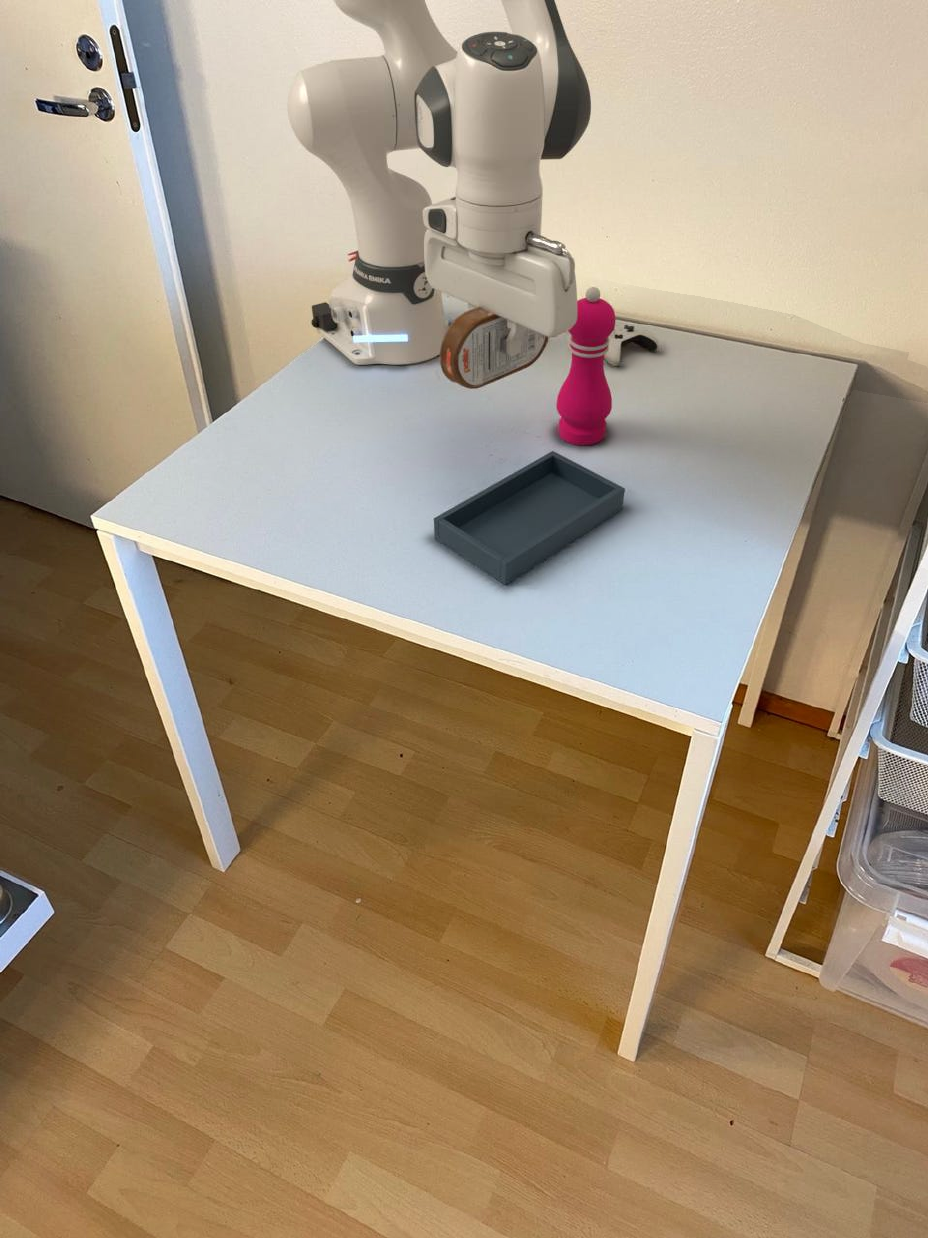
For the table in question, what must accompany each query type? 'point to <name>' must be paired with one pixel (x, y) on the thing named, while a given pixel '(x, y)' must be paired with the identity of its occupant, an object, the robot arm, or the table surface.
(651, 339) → the game controller
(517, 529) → the tray
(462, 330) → the tin
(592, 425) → the pepper mill
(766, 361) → the table surface
